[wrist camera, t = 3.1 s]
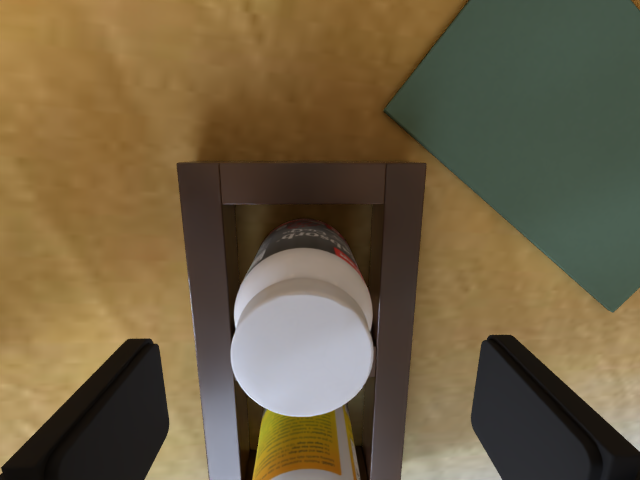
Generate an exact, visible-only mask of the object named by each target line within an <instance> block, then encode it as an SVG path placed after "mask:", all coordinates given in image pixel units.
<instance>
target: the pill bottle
mask: <svg viewBox="0 0 640 480" xmlns="http://www.w3.org/2000/svg"><path fill="white" fill-rule="evenodd" d="M372 318H373V310H372V302H371V297H370V293H369V290H368V288H367V285H366V284H365V281H364V279H363V277H362V274H361V272H360V270H359V268H358V265H357V263H356V261H355V259H354V257H353V254H352V252H351V250H350V248H349V246H348V244H347V242H346V240H345V239H344V238H343V236H342V235H341V234H340V233H339V232H338V231H337V230H336V229H334V228H333V227H331V226H330V225H328V224H326V223H324V222H321V221H318V220H314V219H296V220H291V221H288V222H286V223H283V224H281V225H280V226H278V227H277V228H275V229H274V230H273V231H271V232H270V233H269V235H268V236H267V237H266V238H265V240H264V241H263V243H262V244H261V246H260V248H259V250H258V252H257V254H256V256H255V258H254V260H253V262H252V264H251V266H250V268H249V270H248V272H247V274H246V276H245V278H244V280H243V282H242V284H241V286H240V289H239V291H238V294H237V297H236V301H235V306H234V322H235V328H236V330H235V333H234V336H233V339H232V344H231V365H232V369H233V372H234V375H235V377H236V380H237V381H238V383H239V384H240V386H241V388H242V389H243V390H244V391H245V393H246V394H247V395H248V396H249V397H250V398H251V399H252V400H254V401H255V402H256V403H258V404H259V405H261V406H262V407H264V408H266V409H268V410H270V411H272V412H275V413H279V414H282V415H286V416H296V417H310V416H316V415H321V414H325V413H328V412H330V411H333V410H335V409H337V408H339V407H341V406H343V405H344V404H346V403H347V402H348V401H350V400H351V399H352V398H353V397H354V396H355V395H356V394H357V393H358V392H359V391H360V390H361V388H362V387H363V385H364V384H365V383H366V380H367V379H368V377H369V374H370V371H371V369H372V364H373V355H374V350H373V341H372V337H371V334H370V330H371V326H372Z"/></svg>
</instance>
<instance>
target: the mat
mask: <svg viewBox="0 0 640 480" xmlns="http://www.w3.org/2000/svg"><path fill="white" fill-rule="evenodd" d="M383 111H384V112H385V113H386V114H387V115H388V116H389V117H391V118H392V119H393V120H394V121H395V122H396V123H397V124H398V125H400V126H401V127H402V128H403V129H404V130H405V131H406V132H408V133H409V134H410V135H411V136H412V137H413V138H414V139H415V140H417V141H418V142H419V143H420V144H421V145H422V146H423V147H424V148H426V149H427V150H428V151H429V152H430V153H431V154H432V155H433V156H435V157H436V158H437V159H438V160H439V161H440V162H441V163H443V164H444V165H445V166H446V167H447V168H448V169H449V170H450V171H452V172H453V173H454V174H455V175H456V176H457V177H458V178H459V179H461V180H462V181H463V182H464V183H465V184H466V185H467V186H468V187H470V188H471V189H472V190H473V191H474V192H475V193H476V194H478V195H479V196H480V197H481V198H482V199H483V200H484V201H485V202H487V203H488V204H489V205H490V206H491V207H492V208H493V209H494V210H496V211H497V212H498V213H499V214H500V215H501V216H502V217H503V218H505V219H506V220H507V221H508V222H509V223H510V224H511V225H513V226H514V227H515V228H516V229H517V230H518V231H519V232H520V233H522V234H523V235H524V236H525V237H526V238H527V239H528V240H529V241H531V242H532V243H533V244H534V245H535V246H536V247H537V248H539V249H540V250H541V251H542V252H543V253H544V254H545V255H546V256H548V257H549V258H550V259H551V260H552V261H553V262H554V263H555V264H557V265H558V266H559V267H560V268H561V269H562V270H563V271H564V272H566V273H567V274H568V275H569V276H570V277H571V278H572V279H574V280H575V281H576V282H577V283H578V284H579V285H580V286H581V287H583V288H584V289H585V290H586V291H587V292H588V293H589V294H590V295H592V296H593V297H594V298H595V299H596V300H597V301H598V302H599V303H601V304H602V305H603V306H604V307H605V308H606V309H607V310H609V311H611V312H614V311H615V310H617V309H618V308H619V307H620V306H621V305H622V304H623V303H624V302H625V301H626V300H627V299H628V298H629V297H630V296H631V295H632V294H633V293H634V292H635V291H637V290H638V289H639V288H640V10H639V9H638V8H637V7H636V6H635V4H634V3H633V2H632V1H631V0H469V1H468V2H467V4H466V5H465V6H464V8H463V9H462V10H461V11H460V13H459V14H458V15H457V16H456V18H455V19H454V20H453V22H452V23H451V24H450V25H449V27H448V28H447V29H446V31H445V32H444V33H443V34H442V36H441V37H440V38H439V40H438V41H437V42H436V43H435V45H434V46H433V47H432V49H431V50H430V51H429V52H428V54H427V55H426V56H425V58H424V59H423V60H422V61H421V63H420V64H419V65H418V67H417V68H416V69H415V70H414V72H413V73H412V74H411V76H410V77H409V78H408V79H407V81H406V82H405V83H404V85H403V86H402V87H401V88H400V90H399V91H398V92H397V93H396V95H395V96H394V97H393V99H392V100H391V101H390V102H389V104H388V105H387V106H386V108H385V109H384V110H383Z"/></svg>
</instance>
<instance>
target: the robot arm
mask: <svg viewBox="0 0 640 480" xmlns="http://www.w3.org/2000/svg"><path fill="white" fill-rule="evenodd" d="M471 423H472V427H473V429H474V432H475V433H476V435H477V437H478V438H479V440H480V442H481V444H482V445H483V447H484V449H485V450H486V452H487V454H488V456H489V457H490V459H491V461H492V462H493V464H494V466H495V468H496V469H497V471H498V473H499V474H500V476H501V478H502V480H640V452H639V451H638V450H637V449H636V448H635V447H634V446H633V445H632V444H631V443H629V442H628V441H627V440H626V439H625V438H624V437H623V436H622V435H621V434H620V433H618V432H617V431H616V430H615V429H614V428H613V427H612V426H611V425H610V424H609V423H608V422H606V421H605V420H604V419H603V418H602V417H601V416H600V415H599V414H598V413H597V412H596V411H594V410H593V409H592V408H591V407H590V406H589V405H588V404H587V403H586V402H585V401H583V400H582V399H581V398H580V397H579V396H578V395H577V394H576V393H575V392H574V391H573V390H571V389H570V388H569V387H568V386H567V385H566V384H565V383H564V382H563V381H562V380H560V379H559V378H558V377H557V376H556V375H555V374H554V373H553V372H552V371H551V370H550V369H548V368H547V367H546V366H545V365H544V364H543V363H542V362H541V361H540V360H539V359H538V358H536V357H535V356H534V355H533V354H532V353H531V352H530V351H529V350H528V349H527V348H525V347H524V346H523V345H522V344H521V343H520V342H519V341H518V340H517V339H516V338H515V337H513V336H512V335H490V336H488V338H487V340H484V341H483V342H482V344H481V350H480V357H479V364H478V371H477V378H476V385H475V392H474V399H473V406H472V413H471ZM168 429H169V416H168V409H167V401H166V394H165V387H164V379H163V372H162V365H161V357H160V350H159V346H158V344H153V341H152V340H151V339H128V340H126V341H125V342H124V343H123V344H122V345H121V346H120V347H119V348H118V349H117V350H116V351H115V352H114V353H113V354H112V355H111V356H110V357H109V358H108V360H107V361H106V362H105V363H104V364H103V365H102V366H101V367H100V368H99V369H98V370H97V371H96V372H95V373H94V374H93V375H92V376H91V377H90V378H89V379H88V380H87V381H86V382H85V383H84V384H83V385H82V386H81V387H80V388H79V389H78V390H77V391H76V392H75V393H74V394H73V395H72V396H71V397H70V398H69V399H68V400H67V401H66V402H65V403H64V404H63V405H62V406H61V407H60V408H59V409H58V410H57V411H56V412H55V413H54V414H53V415H52V417H51V418H50V419H49V420H48V421H47V422H46V423H45V424H44V425H43V426H42V427H41V428H40V429H39V430H38V431H37V432H36V433H35V434H34V435H33V436H32V437H31V438H30V439H29V440H28V441H27V442H26V443H25V444H24V445H23V446H22V447H21V448H20V449H19V450H18V451H17V452H16V453H15V454H14V455H13V456H12V457H11V458H10V459H9V460H8V461H7V462H6V463H5V464H4V465H3V466H2V467H1V469H2V472H3V473H2V474H1V475H0V480H144V479H145V477H146V475H147V473H148V471H149V470H150V468H151V466H152V464H153V462H154V460H155V458H156V456H157V454H158V452H159V450H160V448H161V446H162V444H163V442H164V440H165V438H166V436H167V433H168Z"/></svg>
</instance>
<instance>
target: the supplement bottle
mask: <svg viewBox="0 0 640 480" xmlns="http://www.w3.org/2000/svg"><path fill="white" fill-rule="evenodd" d="M252 480H360V474H359V468H358V462H357V456H356V450H355V445H354V439H353V434H352V428H351V422H350V417H349V411H348V406H347V403H346V404H344V405H343V406H341V407H339V408H337V409H335V410H333V411H330V412H328V413H325V414H321V415H316V416H310V417H296V416H286V415H282V414H279V413H275V412H272V411H270V410H268V409H266V408H264V409H263V415H262V421H261V428H260V435H259V441H258V448H257V454H256V460H255V467H254V473H253V479H252Z"/></svg>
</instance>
